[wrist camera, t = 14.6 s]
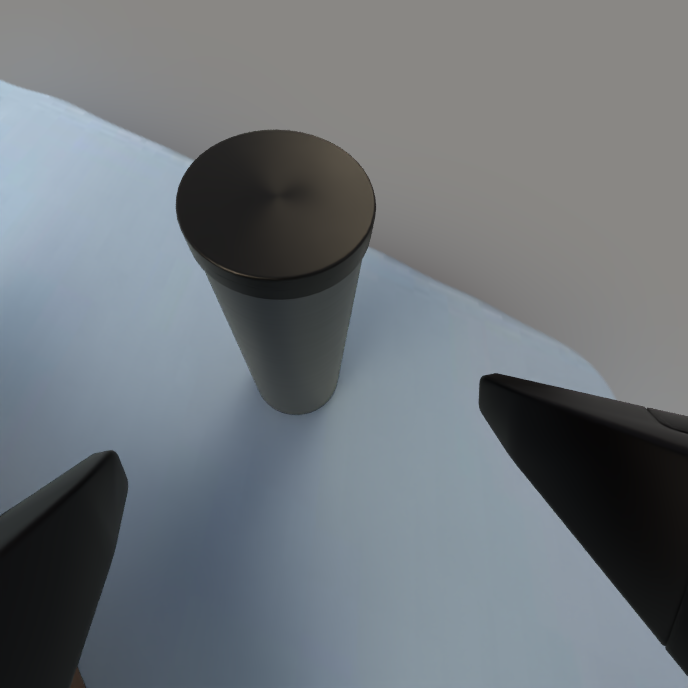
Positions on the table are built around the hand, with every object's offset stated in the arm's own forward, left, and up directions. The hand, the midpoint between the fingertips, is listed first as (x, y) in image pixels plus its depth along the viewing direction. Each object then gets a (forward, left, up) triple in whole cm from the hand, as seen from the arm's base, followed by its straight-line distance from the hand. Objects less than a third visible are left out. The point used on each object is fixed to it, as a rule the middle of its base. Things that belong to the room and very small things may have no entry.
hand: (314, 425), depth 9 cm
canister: (+5, +1, -10) cm, 11 cm away
